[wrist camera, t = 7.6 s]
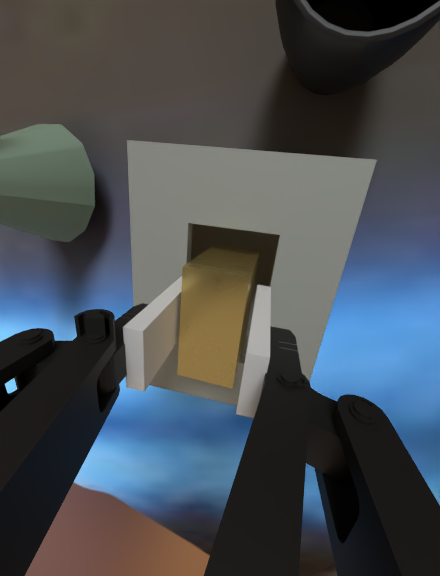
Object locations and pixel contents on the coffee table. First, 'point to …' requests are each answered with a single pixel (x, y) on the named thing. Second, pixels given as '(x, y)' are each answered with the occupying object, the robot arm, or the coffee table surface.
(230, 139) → the coffee table surface
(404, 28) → the mug
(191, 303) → the tall tan block
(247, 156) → the box
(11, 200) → the character figurine
